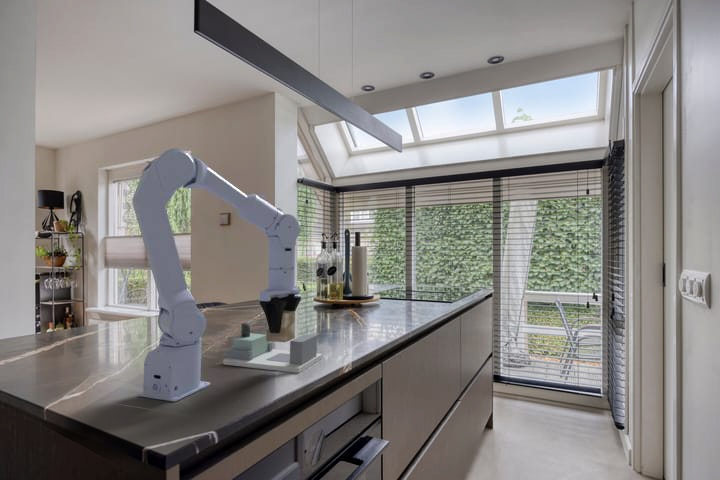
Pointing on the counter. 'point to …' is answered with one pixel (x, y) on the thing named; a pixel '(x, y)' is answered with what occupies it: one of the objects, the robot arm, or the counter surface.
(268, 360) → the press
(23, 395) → the counter surface
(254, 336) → the mint block with peg
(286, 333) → the block
